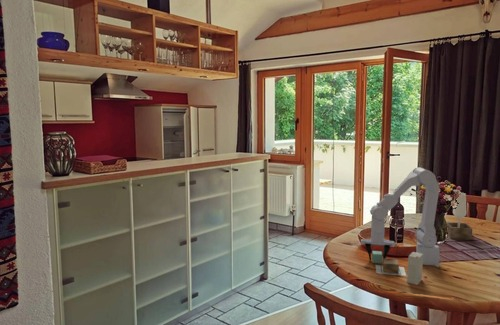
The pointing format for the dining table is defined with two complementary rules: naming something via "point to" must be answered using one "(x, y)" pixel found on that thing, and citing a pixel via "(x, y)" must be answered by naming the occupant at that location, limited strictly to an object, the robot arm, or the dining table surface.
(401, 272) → the grey flat slab
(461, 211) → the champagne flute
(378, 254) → the teal block
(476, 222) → the dining table surface
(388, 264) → the walnut block
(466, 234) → the olive brown open box
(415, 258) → the skincare box
